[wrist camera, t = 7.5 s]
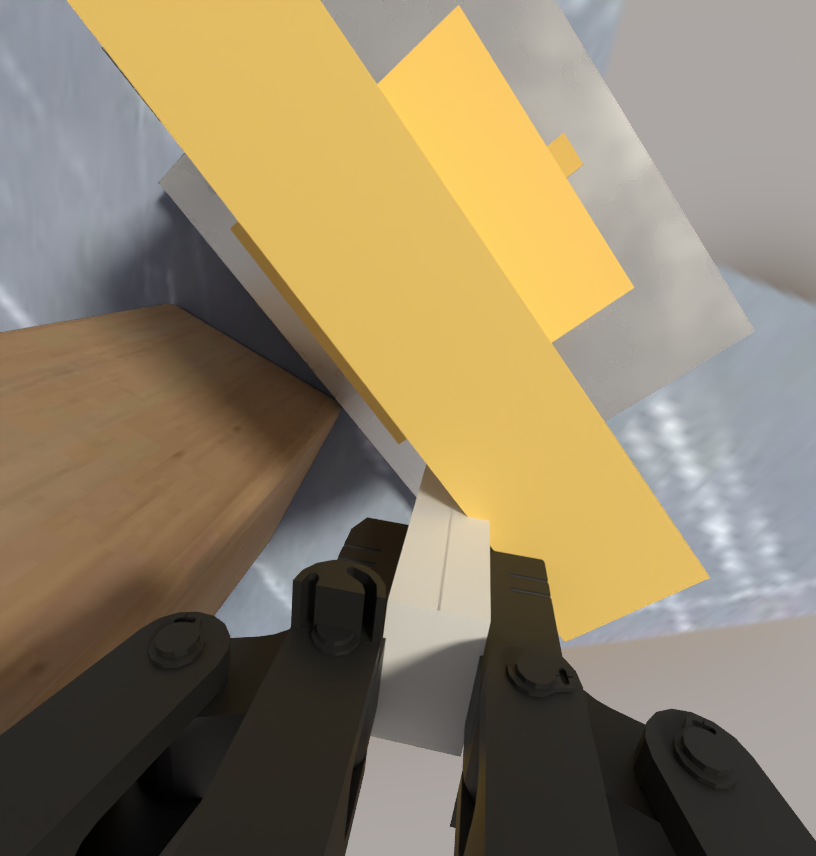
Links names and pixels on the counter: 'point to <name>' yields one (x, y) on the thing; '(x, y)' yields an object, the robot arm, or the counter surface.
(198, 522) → the wooden block
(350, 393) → the base
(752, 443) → the counter surface
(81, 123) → the counter surface
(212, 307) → the counter surface
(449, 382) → the yellow block with bar
